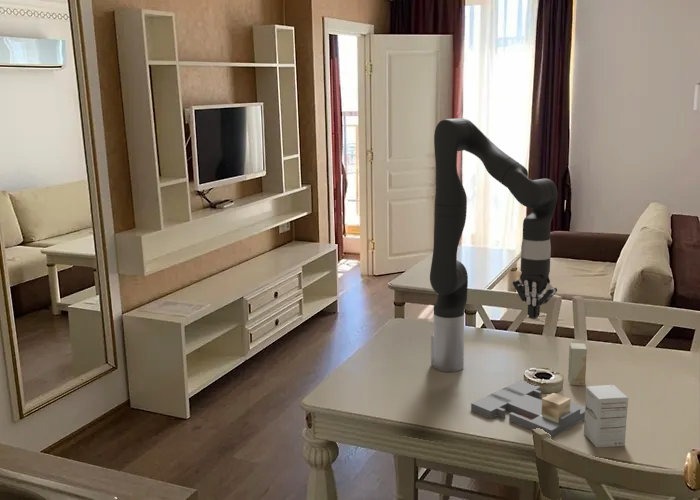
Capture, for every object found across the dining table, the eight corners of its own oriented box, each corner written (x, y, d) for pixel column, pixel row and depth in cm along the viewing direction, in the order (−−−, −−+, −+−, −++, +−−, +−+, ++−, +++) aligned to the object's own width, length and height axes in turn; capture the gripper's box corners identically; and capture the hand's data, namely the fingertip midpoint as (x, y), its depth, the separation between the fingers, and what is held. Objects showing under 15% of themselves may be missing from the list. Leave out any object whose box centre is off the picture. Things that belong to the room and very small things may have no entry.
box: (585, 386, 197) (587, 349, 195) (569, 385, 198) (571, 348, 195) (583, 378, 202) (584, 343, 200) (567, 377, 203) (569, 342, 200)
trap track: (471, 410, 184) (471, 398, 183) (521, 386, 198) (521, 375, 197) (545, 441, 167) (545, 428, 166) (594, 413, 181) (595, 400, 180)
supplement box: (582, 433, 170) (585, 385, 168) (611, 431, 171) (614, 383, 168) (595, 448, 163) (598, 398, 160) (625, 446, 164) (629, 396, 161)
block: (541, 412, 177) (542, 398, 176) (552, 406, 180) (553, 392, 179) (558, 419, 173) (559, 404, 173) (569, 413, 177) (570, 398, 176)
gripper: (565, 256, 179) (562, 320, 183) (523, 249, 189) (521, 309, 193) (549, 261, 175) (546, 327, 178) (506, 253, 184) (504, 315, 188)
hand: (533, 317), depth 186 cm, fingers closed
